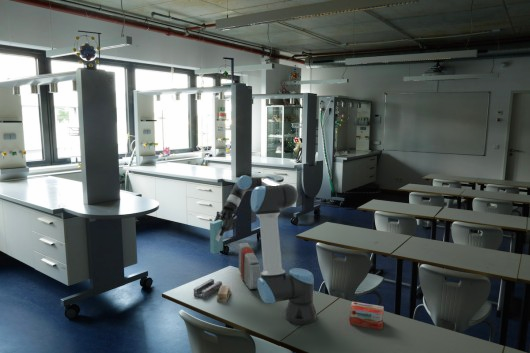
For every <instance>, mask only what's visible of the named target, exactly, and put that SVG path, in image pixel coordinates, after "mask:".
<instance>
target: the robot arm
mask: <svg viewBox="0 0 530 353" xmlns="http://www.w3.org/2000/svg"><path fill="white" fill-rule="evenodd" d="M234 183H235V184H234V185H233V187H232V190H231V191H230V193H229V195H228V197H227V199H226V202H225V203H224V205H223V208H222V210H221V211H216V214H215V215H216V216H215V218H214V221H217V220H223V226H222V228H221V229H220V230H219V232H218V234H217V236H216V238H215V240H216V241H217V242H219V240H220V238H221V236H224V233H225V232H229V231H230V229H231V228H232V226H233V223H234V222H235V220H237V218H238V216H237V215H236V214H235V213H236V212H237V210H238V209H239V208H238V207H239V206H240V203H241V202H242V200H243V197H244V196H245V194H246V192H248V191H249V192H250V191H252V192H251V196H250V207H251V208H250V209H251V211H252V212H254V213H255V216H256V217H257V218H258V219H259V230H260V231H259V232H260V242H261V243H260V244H261V254H262V265H263V266H262V267H263V270H262V271H261V278H259V279H258V280H257V286H258V288H257V290H258V294H259V297H260V298H261V300H262V301H263V302H264V303H265V304H271V303H278V302H283V301H287V305H286V308H285V309H284V318H285V320H286V321H288V322H289V323H292V324H295V325H309V324H312V323H314V322H315V321H316V320H317V310H316V308H315V304H314V287H315V286H314V284H315V280H314V274H313V273H312V272H311V271H309V270H308V269H304V268H299V267H293V268H291V269H289V271H288V273H287V274H286V270H284V268H283V267H282V254H281V243H280V242H281V241H280V232H279V220H278V217H279V215H280V214H281V210H285V209H288V208H289V209H290V208H291V207H293V206H294V205H295V204H296V203H297V200H298V198H299V193H298V190H297V189H296V187H295V186H294V185H291V184H289V183H281V182H279V181H277V180H275V178H274V176H267V175H266V176H257V177H256V176H254V177H253V176H252V177H251V176H248V175H246V174H244V175H241V176H239V178H238V179H237V180H236V181H235V182H234ZM214 221H213V222H214Z"/></svg>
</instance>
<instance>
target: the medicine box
mask: <svg viewBox="0 0 530 353" xmlns="http://www.w3.org/2000/svg"><path fill="white" fill-rule="evenodd" d="M384 313H385V308H384V306H383V305H376V304H371V303H370V304H369V303H363V302H357V301H352V302H351V306H350V309H349V325H353V326H359V327H365V328H369V329H374V330H375V329H377V330H383V325H384V316H385V314H384Z"/></svg>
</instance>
